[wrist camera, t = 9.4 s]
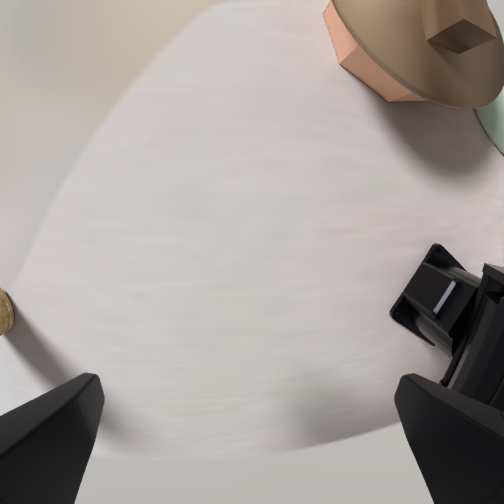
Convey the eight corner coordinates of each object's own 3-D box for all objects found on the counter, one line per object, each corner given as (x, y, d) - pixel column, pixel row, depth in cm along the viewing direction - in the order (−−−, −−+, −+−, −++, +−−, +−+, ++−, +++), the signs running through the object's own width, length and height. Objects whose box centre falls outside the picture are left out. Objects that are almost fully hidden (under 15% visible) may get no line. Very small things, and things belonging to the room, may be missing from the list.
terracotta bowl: (458, 47, 16) (496, 31, 11) (418, 129, 18) (463, 121, 13) (362, -31, 14) (386, -64, 10) (301, 39, 16) (321, 3, 11)
